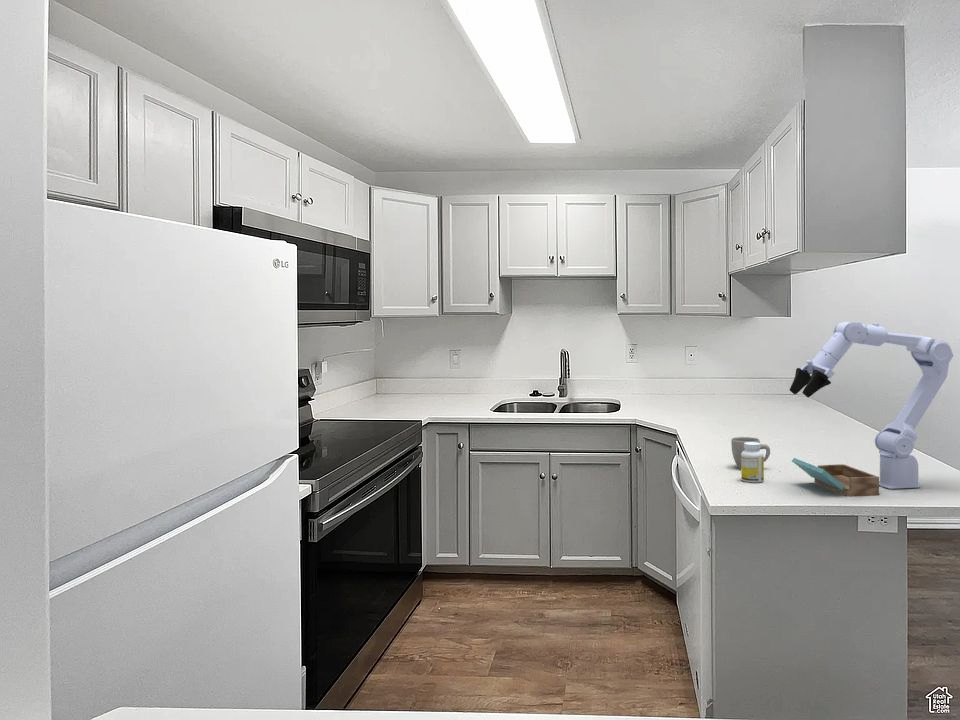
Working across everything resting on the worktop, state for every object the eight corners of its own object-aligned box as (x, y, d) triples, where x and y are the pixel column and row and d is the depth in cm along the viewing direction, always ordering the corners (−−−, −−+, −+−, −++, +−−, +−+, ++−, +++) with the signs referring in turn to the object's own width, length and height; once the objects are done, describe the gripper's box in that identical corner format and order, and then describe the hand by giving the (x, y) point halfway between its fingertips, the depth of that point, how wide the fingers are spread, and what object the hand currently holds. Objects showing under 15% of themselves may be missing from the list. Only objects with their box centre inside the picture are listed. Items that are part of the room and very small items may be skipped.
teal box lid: (815, 474, 226) (794, 457, 225) (846, 488, 209) (824, 469, 208) (812, 478, 226) (791, 460, 225) (844, 491, 209) (821, 473, 208)
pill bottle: (758, 478, 234) (758, 441, 233) (767, 482, 227) (767, 444, 226) (738, 478, 233) (737, 441, 233) (746, 483, 227) (745, 445, 226)
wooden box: (843, 480, 227) (843, 464, 227) (879, 494, 209) (879, 477, 209) (814, 481, 226) (814, 465, 226) (847, 496, 209) (847, 478, 208)
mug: (730, 470, 246) (730, 440, 246) (732, 464, 254) (732, 436, 254) (770, 472, 242) (769, 442, 241) (770, 466, 250) (770, 437, 249)
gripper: (805, 346, 222) (776, 382, 222) (832, 349, 207) (800, 387, 208) (823, 361, 223) (794, 397, 223) (850, 365, 208) (819, 403, 208)
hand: (798, 393), depth 215 cm, fingers open, 7 cm apart
